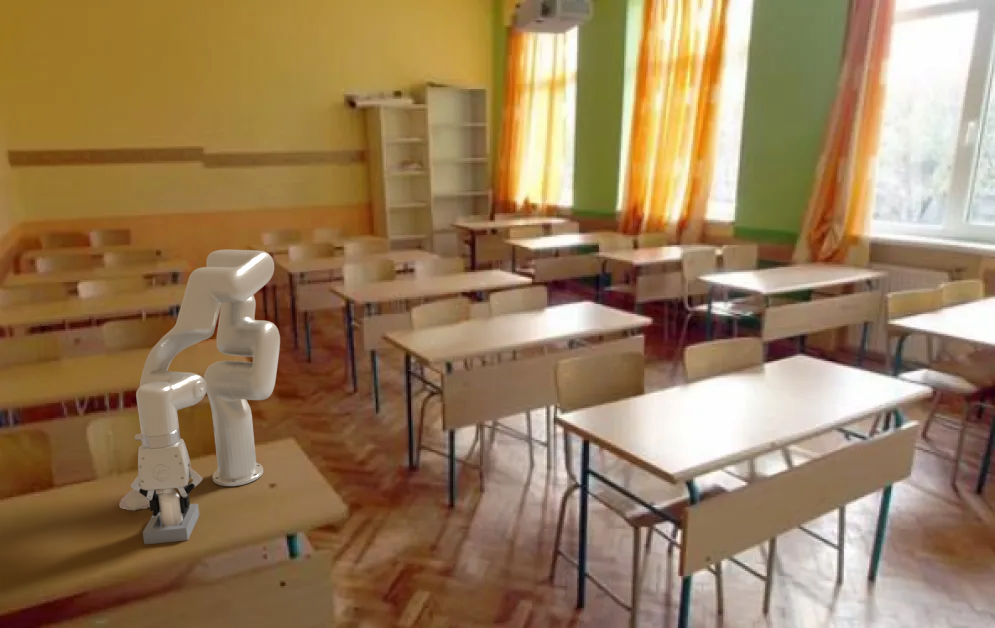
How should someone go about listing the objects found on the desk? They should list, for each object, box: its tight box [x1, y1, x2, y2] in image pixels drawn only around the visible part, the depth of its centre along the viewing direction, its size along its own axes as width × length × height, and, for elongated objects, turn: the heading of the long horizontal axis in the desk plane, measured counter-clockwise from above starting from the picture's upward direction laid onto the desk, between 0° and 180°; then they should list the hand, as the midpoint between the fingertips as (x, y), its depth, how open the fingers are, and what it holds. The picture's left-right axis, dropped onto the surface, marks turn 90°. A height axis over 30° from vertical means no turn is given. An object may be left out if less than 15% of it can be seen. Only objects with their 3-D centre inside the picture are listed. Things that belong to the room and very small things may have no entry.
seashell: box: [118, 488, 162, 511], centre depth 171 cm, size 10×6×10 cm
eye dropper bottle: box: [158, 488, 183, 527], centre depth 157 cm, size 4×6×12 cm
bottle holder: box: [142, 503, 200, 545], centre depth 159 cm, size 11×9×3 cm
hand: (170, 511), depth 158 cm, fingers closed on eye dropper bottle, 5 cm apart
